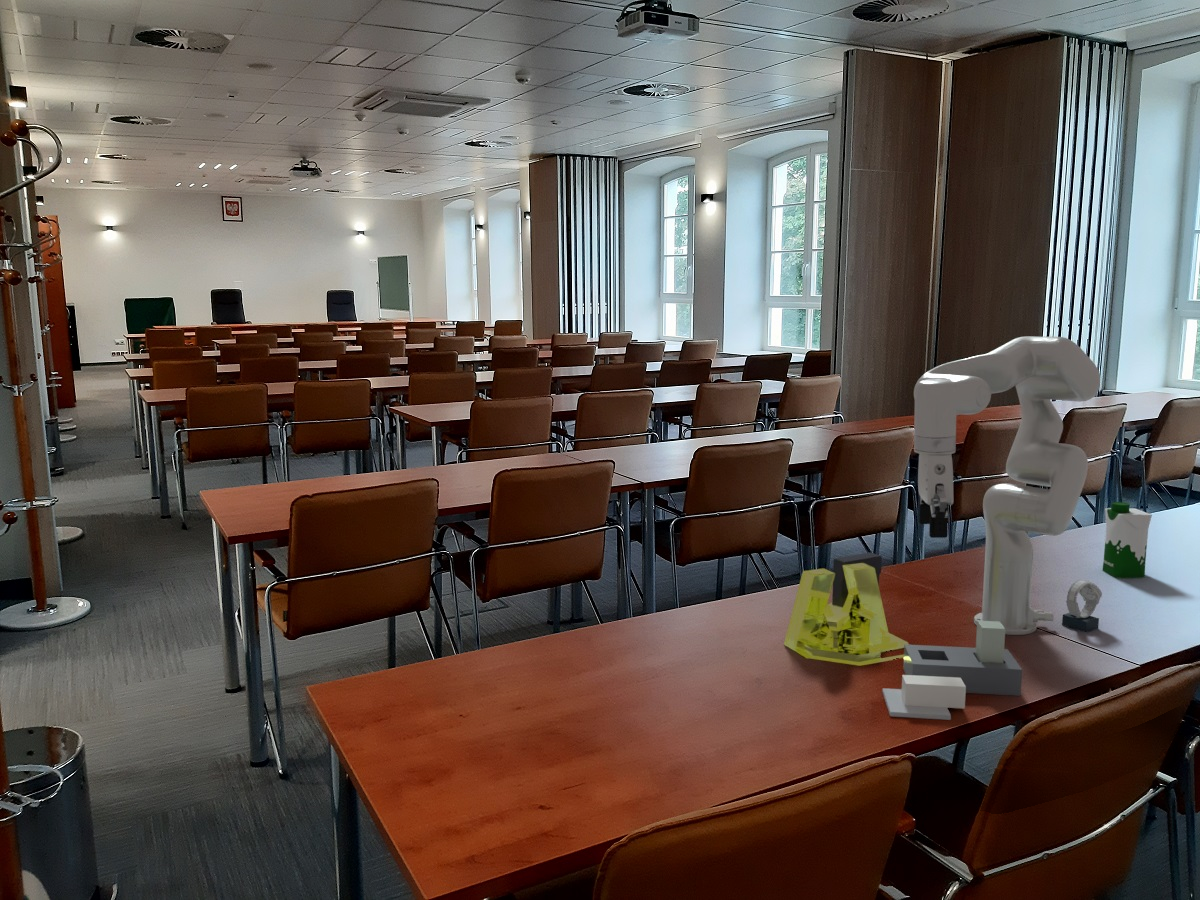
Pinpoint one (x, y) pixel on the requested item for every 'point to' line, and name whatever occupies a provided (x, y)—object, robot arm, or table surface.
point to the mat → (911, 707)
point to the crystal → (841, 619)
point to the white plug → (933, 691)
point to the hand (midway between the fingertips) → (932, 530)
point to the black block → (866, 558)
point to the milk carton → (1125, 541)
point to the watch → (1083, 618)
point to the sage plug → (990, 642)
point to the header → (964, 668)
